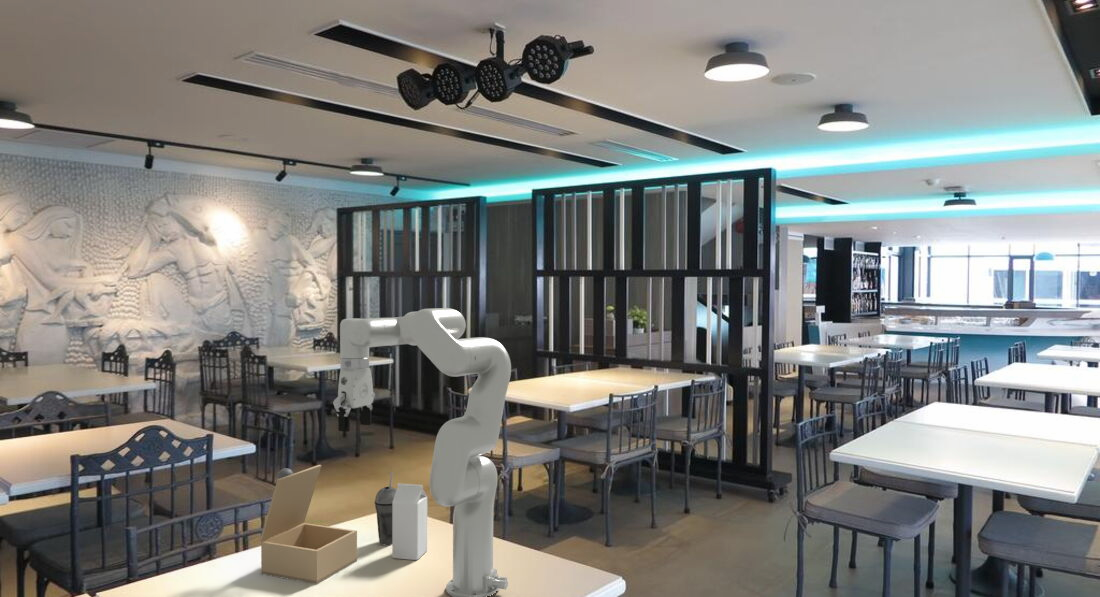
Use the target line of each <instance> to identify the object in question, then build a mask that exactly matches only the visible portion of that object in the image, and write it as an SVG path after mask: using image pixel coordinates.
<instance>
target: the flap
mask: <svg viewBox="0 0 1100 597" xmlns="http://www.w3.org/2000/svg"><path fill="white" fill-rule="evenodd" d="M321 468H322V464H318V465H314V466H312V467H309V468H306V469H303V470H300V471H298V472H295V473H294V472H293V470H292V469H291V468H285V467H284V468H282V469H280V470H279V471H278V472H277V475H276V476H277V479H276V484H275V486H274V487H275V488H274V490H273V494H272V497H271V499H270V504H269V506H268V507H269V508H268V511H267V513H266V517H265V522H264V524H263V527H262V531H261V534H260V538H259V542H263V541H265V540H267V539H270V538H272V537H274V536H276V535H279V534H281V533H283V532H285V531H287V530H290V529H292V528H294V527H296V526H299V525H301V524H303V523H306V522H305V521H306V518H307V515H308V512H309V508H310V504H311V501H312V499H313V498H312V497H313V495H314V491H315V489H316V484H317V482H318V479H319V475H320V472H321Z"/></svg>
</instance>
